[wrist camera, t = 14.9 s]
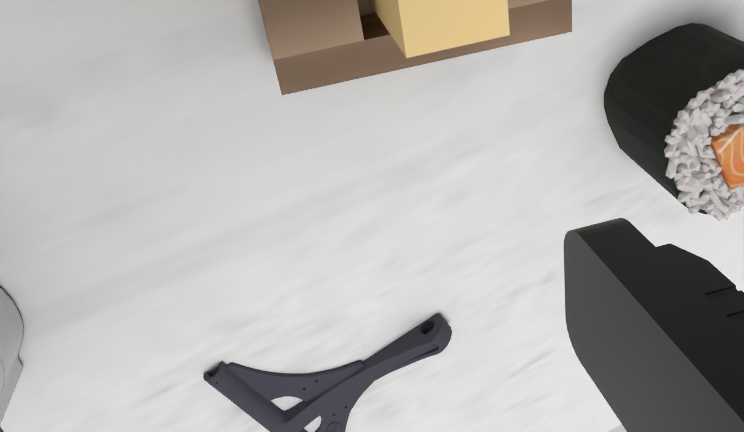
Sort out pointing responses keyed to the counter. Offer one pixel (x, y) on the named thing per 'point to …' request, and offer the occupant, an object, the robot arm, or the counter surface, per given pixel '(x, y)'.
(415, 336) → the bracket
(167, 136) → the counter surface
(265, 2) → the socket block
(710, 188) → the sushi
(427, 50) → the peg
